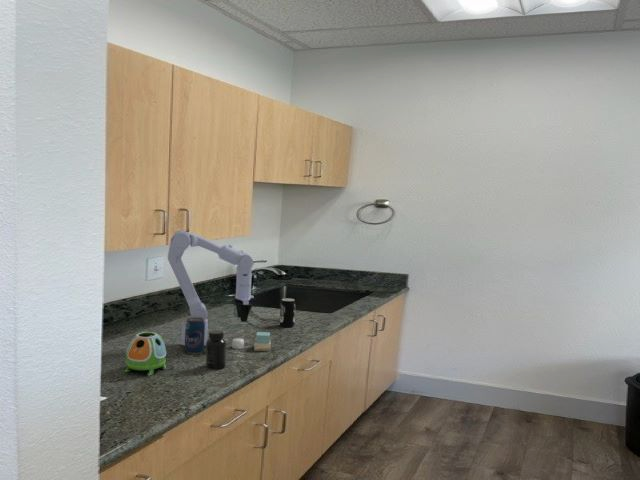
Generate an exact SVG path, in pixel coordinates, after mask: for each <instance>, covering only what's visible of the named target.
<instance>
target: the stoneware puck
mask: <svg viewBox="0 0 640 480" xmlns="http://www.w3.org/2000/svg"><path fill="white" fill-rule="evenodd" d="M231 341H232V344H231V345H232V346H231V347H232V349H235V350H242V348H243V349H244V348H245V339H244V338H241V337H240V338H238V337H237V338H233V339H232V340H231Z"/></svg>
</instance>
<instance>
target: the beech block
mask: <svg viewBox="0 0 640 480" xmlns="http://www.w3.org/2000/svg"><path fill="white" fill-rule="evenodd" d="M271 343H272V340H271V339H270V343H269V344H267V343H256V338H255V339H254V348H253V349H254V350H253V351H260V352H262V351H263V352H271V348H272V347H271V345H272V344H271Z"/></svg>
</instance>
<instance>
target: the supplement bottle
mask: <svg viewBox="0 0 640 480" xmlns="http://www.w3.org/2000/svg"><path fill="white" fill-rule="evenodd" d="M224 334H225V333H224V331H222V330H216V329H215V330H210V331H209V333H208V338H207V342H206V346H205V367H206V368H207V369H209V370H222V369H224V368H226V366H227V341H226V339H224V337H225V336H224Z"/></svg>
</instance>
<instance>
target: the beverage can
mask: <svg viewBox="0 0 640 480" xmlns="http://www.w3.org/2000/svg"><path fill="white" fill-rule="evenodd" d="M279 307H280V311H279V326H280V327H282V328H292V327H294V326H295V320H296V317H295V316H296V301H295V299H294V298H289V297H288V298H287V297H284V298H282V299H281V301H280V306H279Z"/></svg>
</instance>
